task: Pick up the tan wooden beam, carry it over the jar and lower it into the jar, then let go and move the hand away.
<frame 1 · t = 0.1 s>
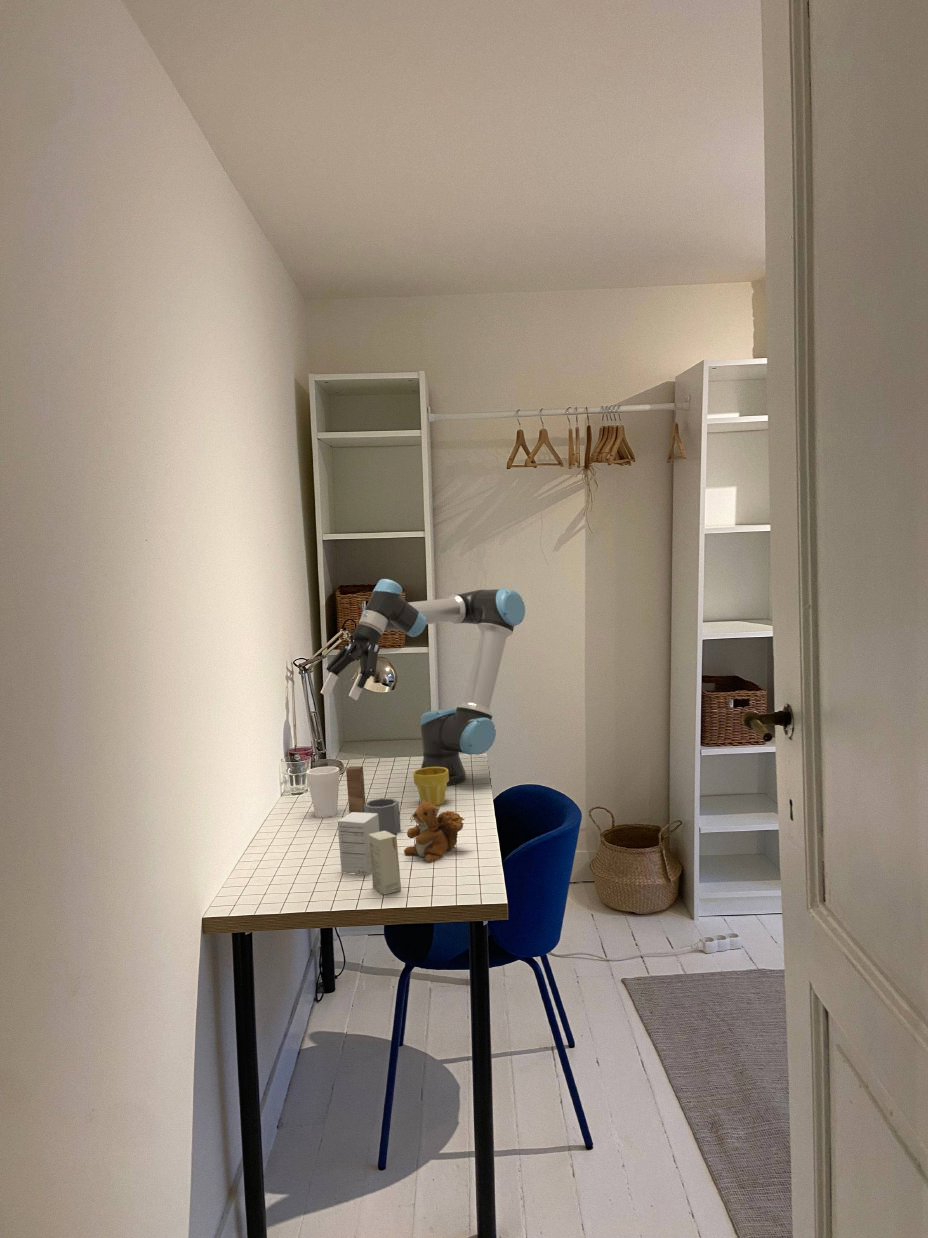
hand: (338, 696, 242), 36 cm above the table, tool tilted 35°, fingers open, 13 cm apart
foam cup: (326, 815, 256), on the table
plant pot: (433, 804, 261), on the table
jar: (383, 832, 235), on the table
skincare box: (386, 890, 194), on the table
tan wooden beam: (358, 824, 244), on the table
supplement box: (361, 870, 208), on the table
stuffed squirrel: (436, 854, 216), on the table
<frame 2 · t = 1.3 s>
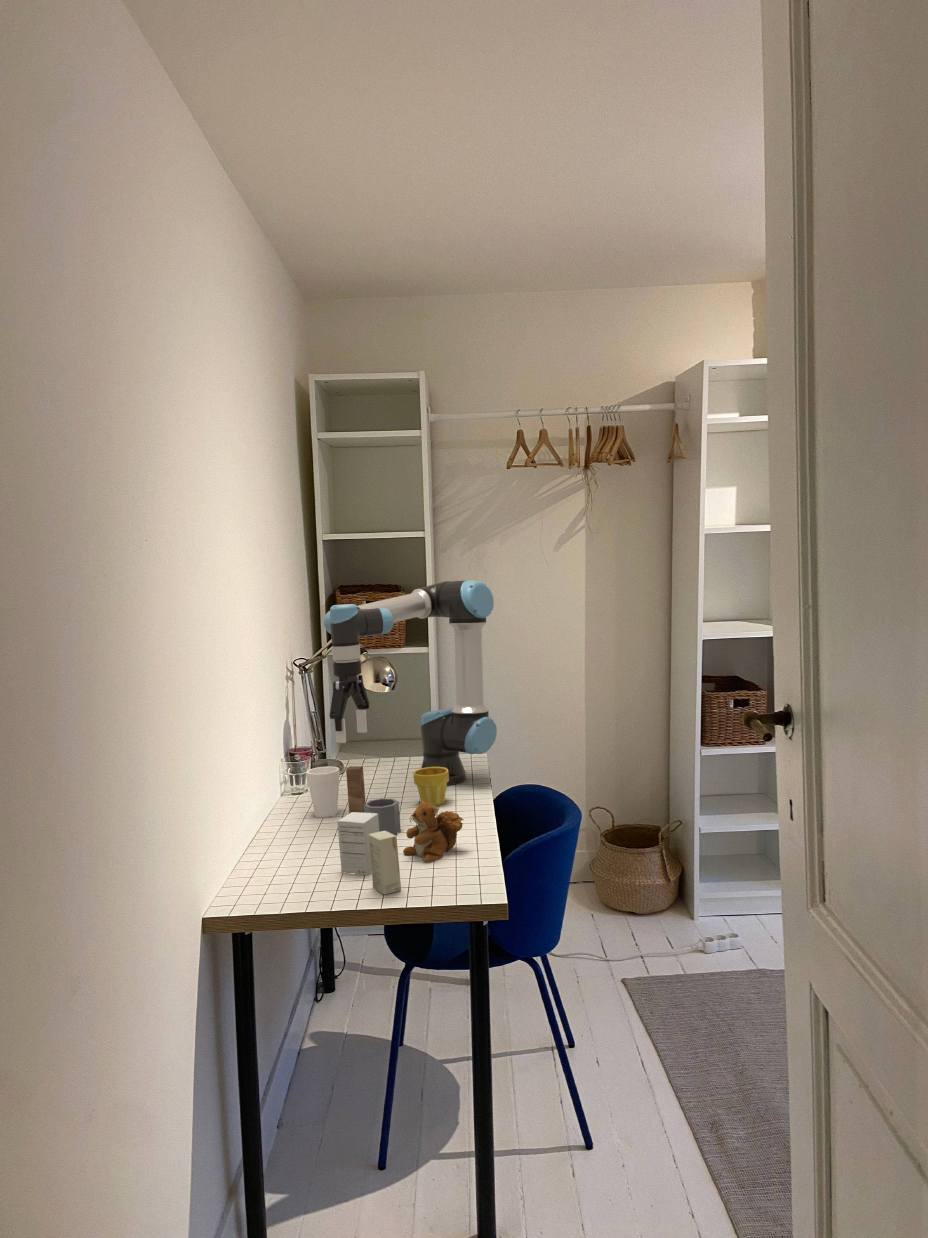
hand: (352, 737, 242), 24 cm above the table, tool pointing down, fingers open, 13 cm apart
nothing on the table moved.
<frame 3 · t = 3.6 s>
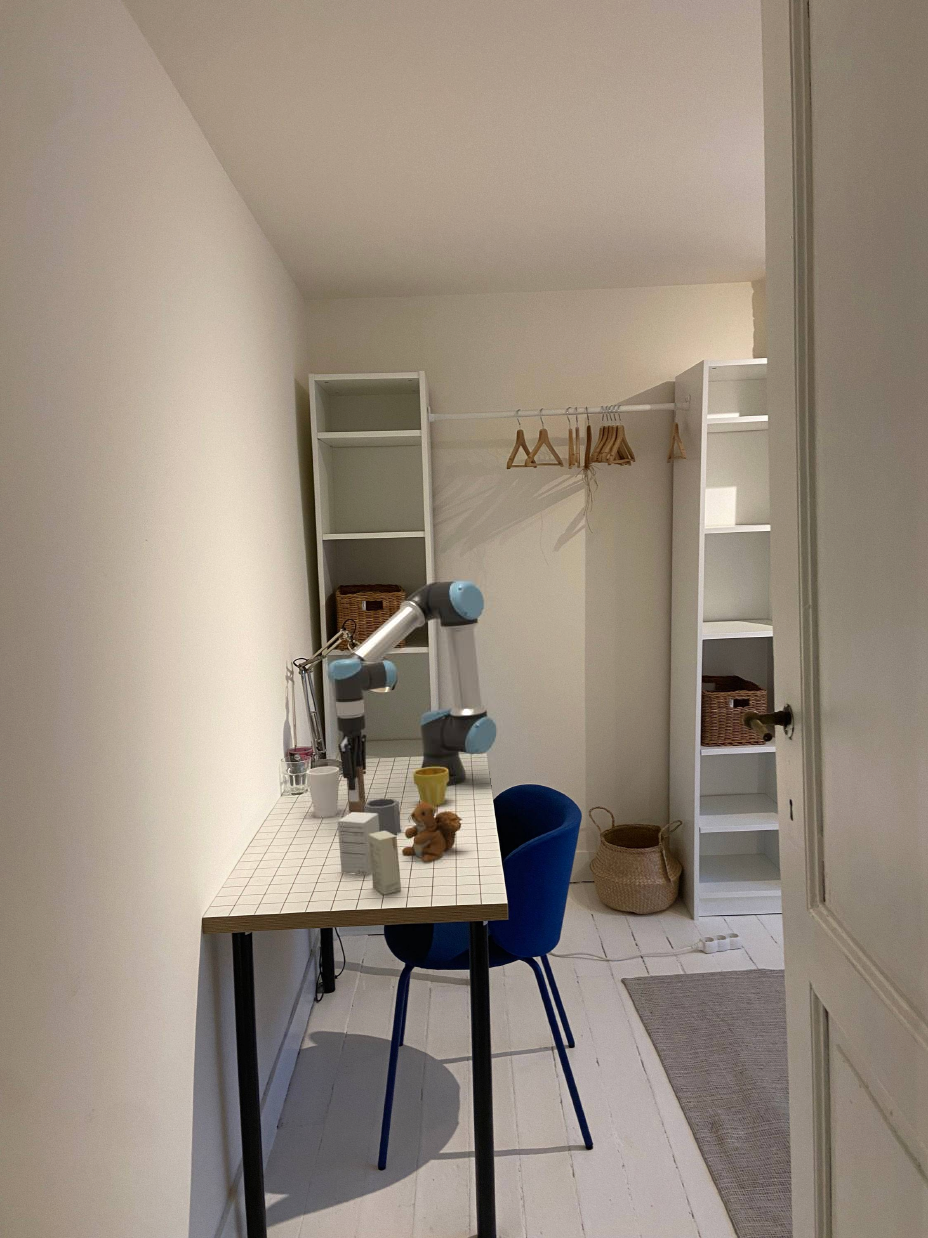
hand: (356, 799, 244), 7 cm above the table, tool pointing down, fingers closed on tan wooden beam, 2 cm apart
tan wooden beam: (358, 824, 244), on the table, touching gripper
everything else where it was.
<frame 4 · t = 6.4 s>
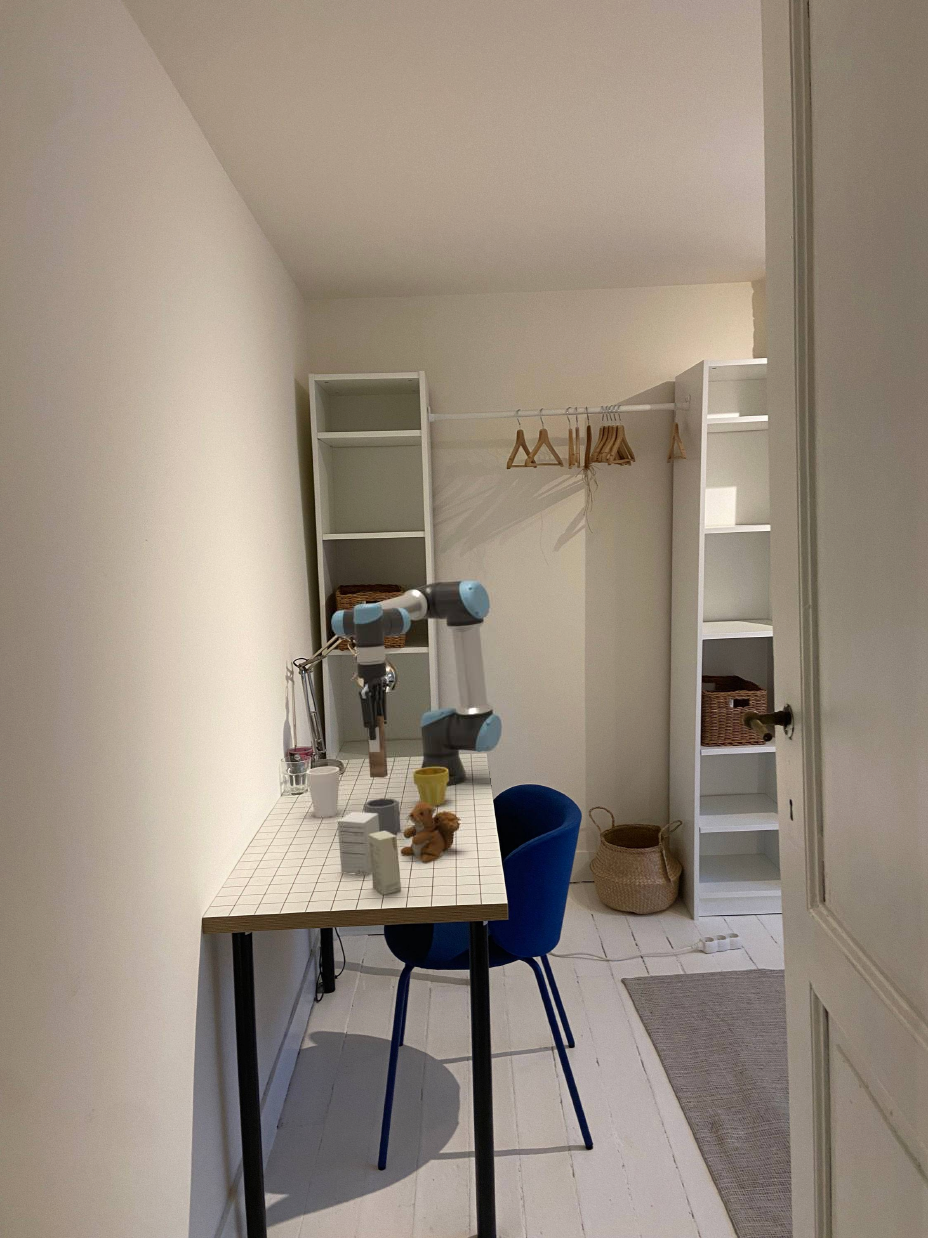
hand: (377, 750, 234), 22 cm above the table, tool pointing down, fingers closed on tan wooden beam, 2 cm apart
tan wooden beam: (379, 776, 234), point 15 cm above the table, touching gripper
everything else where it was.
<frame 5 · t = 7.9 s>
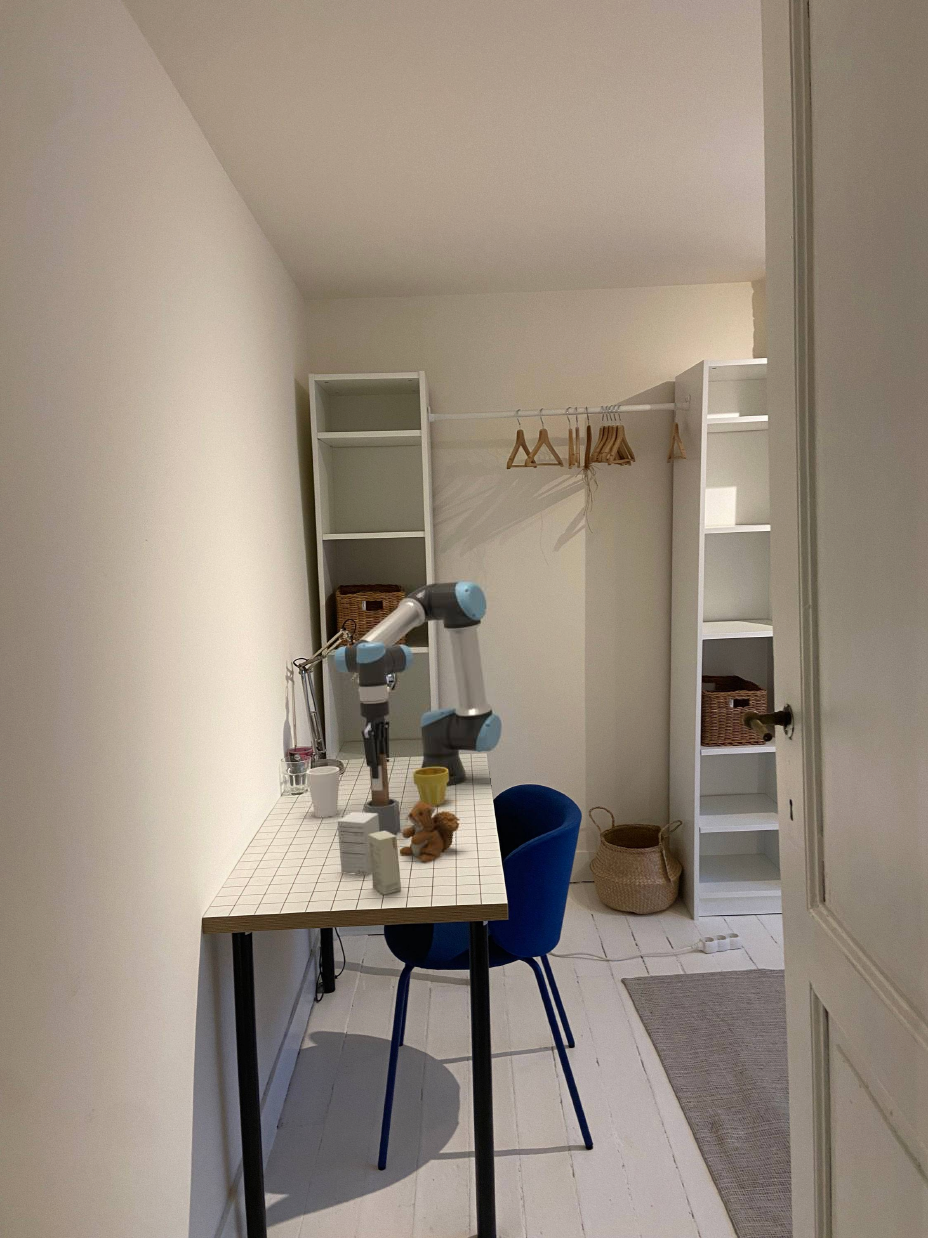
hand: (379, 788, 234), 12 cm above the table, tool pointing down, fingers closed on tan wooden beam, 2 cm apart
tan wooden beam: (381, 814, 235), point 5 cm above the table, touching gripper
when the fingers open (9 cm above the table, at t = 9.2 s): tan wooden beam drops 1 cm, resting on jar.
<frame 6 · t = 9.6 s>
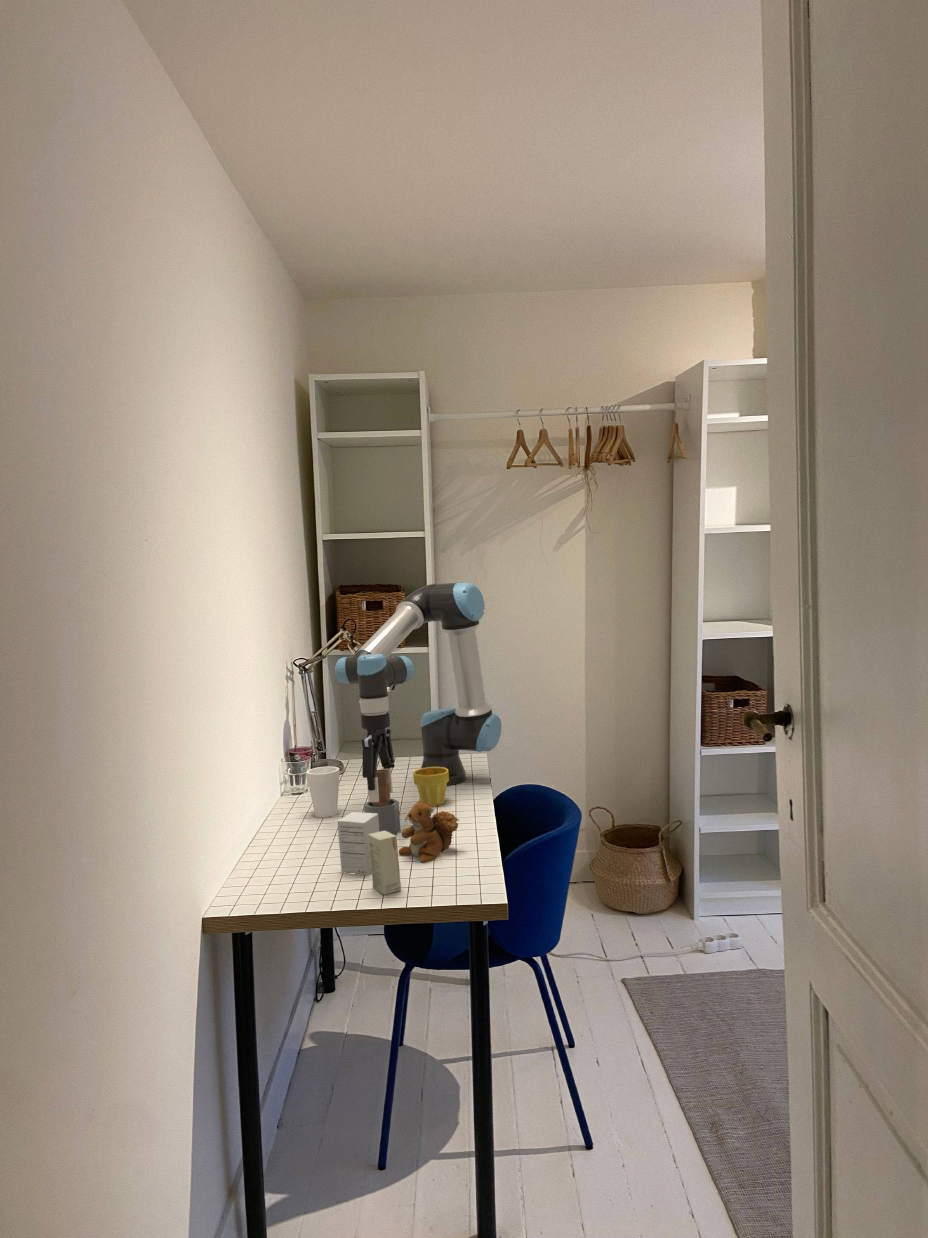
hand: (380, 797, 235), 10 cm above the table, tool pointing down, fingers open, 8 cm apart
tan wooden beam: (383, 830, 235), point 1 cm above the table, touching jar
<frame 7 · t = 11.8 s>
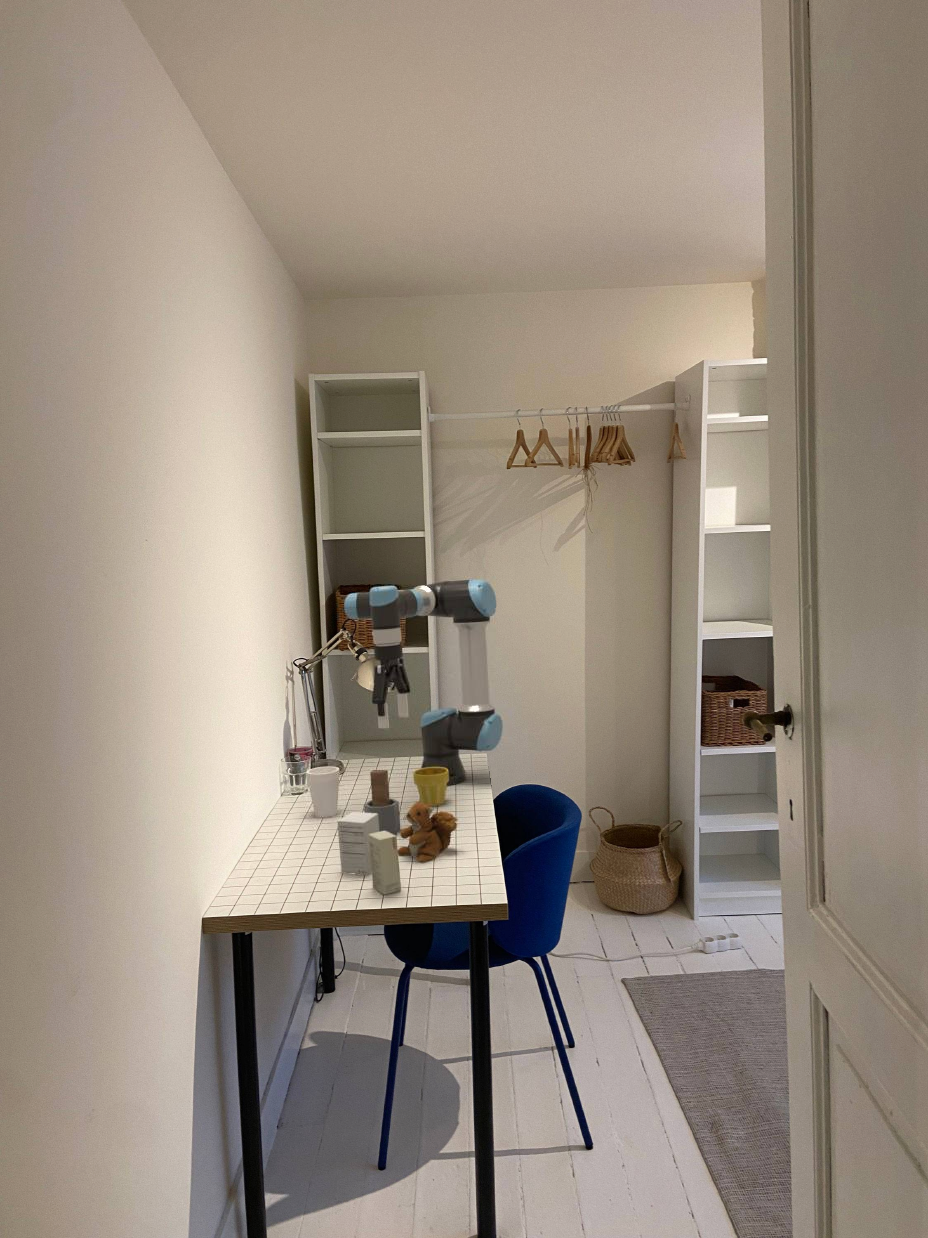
hand: (394, 722, 237), 29 cm above the table, tool pointing down, fingers open, 13 cm apart
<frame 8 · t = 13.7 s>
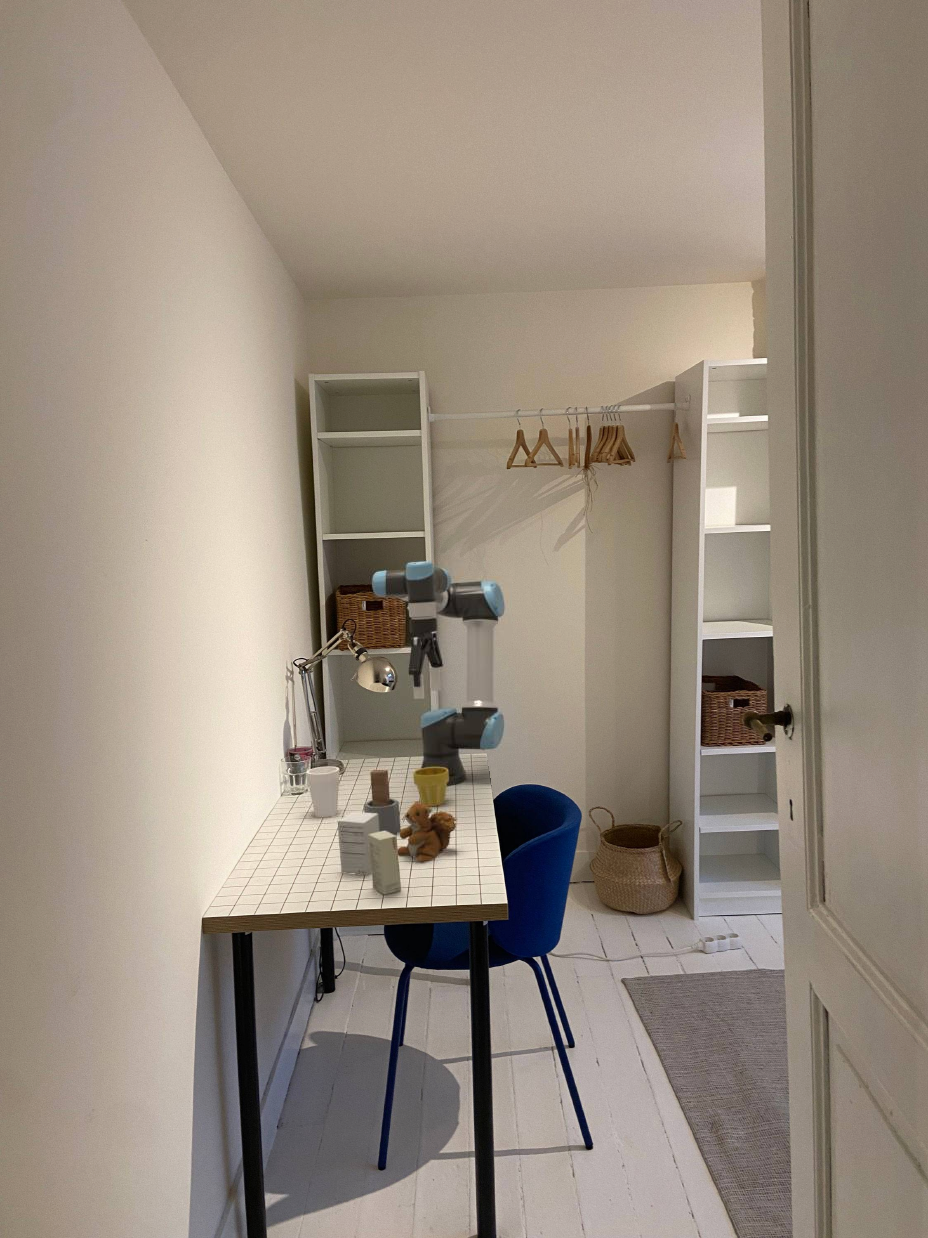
hand: (428, 694, 243), 35 cm above the table, tool pointing down, fingers open, 13 cm apart
at the end: tan wooden beam inside the target area on the jar (0.1 cm from its centre), point 0.6 cm above the jar's base; tan wooden beam tilted 0°; the gripper is holding nothing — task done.
